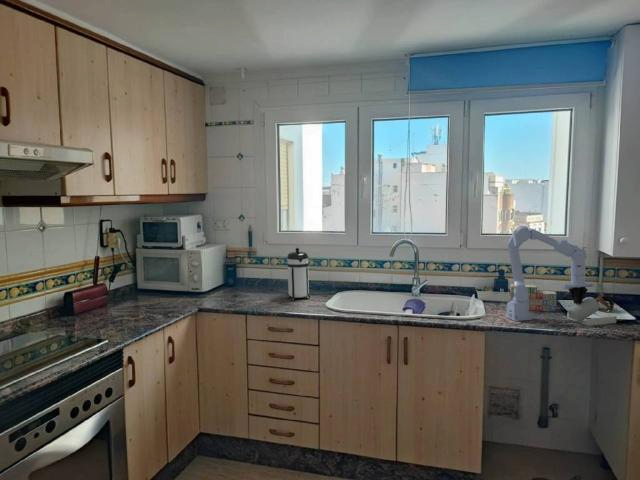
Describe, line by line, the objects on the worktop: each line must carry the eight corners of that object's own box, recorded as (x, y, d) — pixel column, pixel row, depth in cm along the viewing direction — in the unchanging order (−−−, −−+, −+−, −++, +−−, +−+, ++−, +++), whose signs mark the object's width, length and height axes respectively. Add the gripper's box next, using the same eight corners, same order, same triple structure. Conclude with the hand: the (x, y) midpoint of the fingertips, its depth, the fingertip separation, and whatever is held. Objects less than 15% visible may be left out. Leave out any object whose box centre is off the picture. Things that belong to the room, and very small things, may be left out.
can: (577, 312, 211) (598, 298, 213) (565, 306, 218) (585, 293, 220) (582, 325, 214) (602, 311, 215) (569, 319, 221) (590, 306, 222)
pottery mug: (599, 307, 243) (609, 295, 239) (610, 320, 235) (620, 307, 231) (580, 303, 241) (589, 291, 237) (590, 315, 233) (600, 303, 229)
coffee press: (317, 296, 282) (315, 246, 278) (302, 302, 268) (300, 250, 265) (293, 293, 291) (292, 245, 288) (277, 298, 278) (276, 248, 274)
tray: (588, 325, 211) (588, 319, 211) (567, 318, 224) (567, 312, 223) (616, 323, 214) (616, 316, 214) (593, 315, 227) (594, 309, 227)
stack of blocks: (554, 309, 241) (555, 285, 240) (556, 312, 235) (557, 288, 234) (509, 306, 248) (510, 283, 247) (510, 309, 242) (510, 286, 241)
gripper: (585, 271, 220) (585, 300, 221) (557, 274, 218) (557, 302, 219) (597, 274, 213) (596, 303, 214) (568, 276, 211) (567, 306, 212)
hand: (577, 303), depth 216 cm, fingers closed
